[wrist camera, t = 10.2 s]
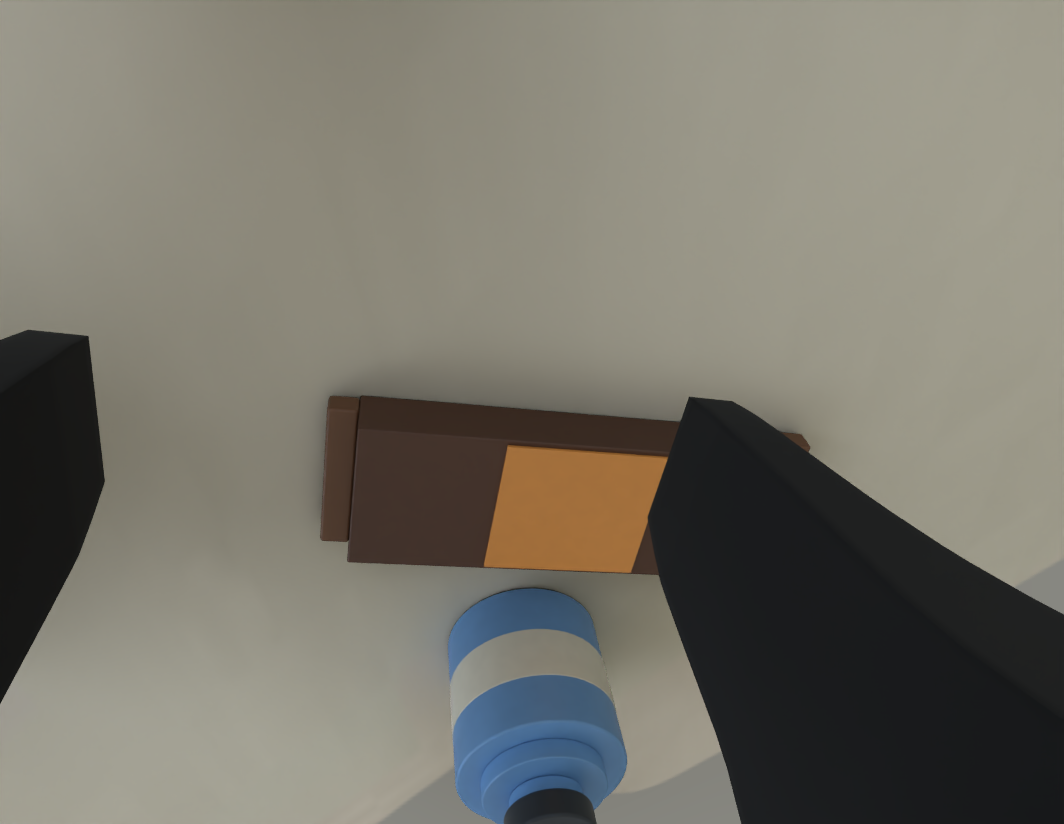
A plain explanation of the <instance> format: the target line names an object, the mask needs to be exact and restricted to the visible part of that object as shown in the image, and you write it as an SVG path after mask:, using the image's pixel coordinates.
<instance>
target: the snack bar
mask: <svg viewBox="0 0 1064 824" xmlns="http://www.w3.org/2000/svg"><path fill="white" fill-rule="evenodd" d="M679 425H680V422H671V421H659V420H647V419H635V418H624V417H612V416H600V415H588V414H576V413H564V412H552V411H540V410H528V409H516V408H504V407H492V406H480V405H468V404H456V403H444V402H432V401H420V400H408V399H396V398H384V397H372V396H361V398H360V399H359V398H354V397H342V396H330V398H329V401H328V407H327V422H326V440H325V459H324V477H323V496H322V514H321V533H320V538H321V540H323V541H340V542H347V541H348V540H349V544H348V557H347V561H348V562H357V563H381V564H406V565H430V566H455V567H480V568H504V569H529V570H553V571H578V572H602V573H627V574H651V575H659V572H658V568H657V563H656V559H655V555H654V550H653V544H652V539H651V534H650V529H649V523H648V518H647V517H648V514H649V511H650V508H651V505H652V502H653V499H654V497H655V494H656V491H657V488H658V485H659V482H660V479H661V476H662V474H663V471H664V468H665V465H666V462H667V459H668V456H669V453H670V451H671V448H672V445H673V442H674V439H675V436H676V433H677V430H678V428H679ZM781 433H782V432H781ZM782 434H784V435H785V436H786V437H788V438H789V439H790V440H792V441H793V442H795V443H796V444H797V445H799V446H800V447H801V448H803V449H804V450H805V451H807V452H809V450H810V446H809V444H808V443H807V441H806V440H805V439H804V437H803V436H802V435H801V434H794V433H782Z"/></svg>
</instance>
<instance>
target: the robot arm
mask: <svg viewBox="0 0 1064 824" xmlns="http://www.w3.org/2000/svg"><path fill="white" fill-rule="evenodd" d="M104 482H105V478H104V470H103V461H102V452H101V443H100V434H99V426H98V417H97V408H96V399H95V390H94V381H93V373H92V364H91V355H90V346H89V337H88V336H83V335H73V334H64V333H54V332H44V331H34V330H27V331H24V332H21V333H18V334H15V335H12V336H10V337H7V338H5V339H2V340H0V703H1V701H2V699H3V698H4V696H5V694H6V692H7V690H8V688H9V686H10V684H11V683H12V681H13V679H14V677H15V675H16V673H17V671H18V670H19V668H20V666H21V664H22V662H23V660H24V658H25V656H26V655H27V653H28V651H29V649H30V647H31V645H32V643H33V642H34V640H35V638H36V636H37V634H38V632H39V630H40V628H41V627H42V625H43V623H44V621H45V619H46V617H47V615H48V613H49V612H50V610H51V608H52V606H53V604H54V602H55V600H56V598H57V596H58V594H59V593H60V591H61V589H62V587H63V585H64V583H65V581H66V579H67V577H68V575H69V573H70V571H71V569H72V568H73V566H74V564H75V562H76V560H77V558H78V556H79V553H80V551H81V548H82V545H83V542H84V540H85V537H86V534H87V532H88V529H89V526H90V524H91V521H92V518H93V515H94V512H95V509H96V506H97V503H98V500H99V497H100V494H101V491H102V488H103V485H104ZM647 518H648V523H649V529H650V534H651V539H652V544H653V550H654V555H655V559H656V563H657V568H658V572H659V577H660V581H661V584H662V587H663V590H664V593H665V596H666V599H667V602H668V605H669V607H670V610H671V613H672V616H673V619H674V621H675V624H676V627H677V630H678V632H679V635H680V638H681V641H682V643H683V646H684V649H685V651H686V654H687V657H688V660H689V662H690V665H691V668H692V670H693V673H694V676H695V678H696V681H697V684H698V686H699V689H700V692H701V695H702V697H703V700H704V703H705V705H706V708H707V711H708V713H709V716H710V719H711V722H712V724H713V727H714V730H715V732H716V735H717V738H718V741H719V745H720V748H721V751H722V754H723V757H724V760H725V763H726V766H727V769H728V773H729V777H730V781H731V785H732V789H733V793H734V797H735V801H736V804H737V808H738V812H739V816H740V820H741V824H1064V615H1063V614H1062V613H1060V612H1058V611H1056V610H1054V609H1052V608H1050V607H1048V606H1046V605H1044V604H1043V603H1041V602H1039V601H1037V600H1035V599H1033V598H1031V597H1029V596H1028V595H1026V594H1024V593H1022V592H1021V591H1019V590H1017V589H1015V588H1014V587H1012V586H1010V585H1008V584H1007V583H1005V582H1003V581H1001V580H1000V579H998V578H996V577H994V576H993V575H991V574H989V573H987V572H986V571H984V570H982V569H980V568H979V567H977V566H975V565H973V564H972V563H970V562H968V561H967V560H965V559H963V558H962V557H960V556H958V555H957V554H955V553H954V552H952V551H950V550H949V549H947V548H945V547H944V546H942V545H941V544H939V543H938V542H936V541H935V540H933V539H932V538H930V537H928V536H927V535H925V534H924V533H922V532H921V531H919V530H918V529H916V528H915V527H913V526H912V525H910V524H909V523H907V522H906V521H904V520H903V519H901V518H900V517H898V516H897V515H895V514H894V513H892V512H891V511H889V510H888V509H886V508H885V507H883V506H882V505H881V504H879V503H878V502H876V501H875V500H873V499H872V498H870V497H869V496H868V495H866V494H865V493H863V492H862V491H861V490H859V489H858V488H856V487H855V486H854V485H852V484H851V483H849V482H848V481H847V480H845V479H844V478H842V477H841V476H840V475H838V474H837V473H836V472H834V471H833V470H831V469H830V468H829V467H827V466H826V465H825V464H823V463H822V462H821V461H819V460H818V459H816V458H815V457H814V456H812V455H811V454H810V453H808V452H807V451H805V450H804V449H803V448H801V447H800V446H799V445H797V444H796V443H795V442H793V441H792V440H790V439H789V438H788V437H786V436H785V435H784V434H782V433H781V432H779V431H778V430H777V429H775V428H774V427H772V426H771V425H769V424H768V423H766V422H765V421H764V420H762V419H761V418H759V417H758V416H756V415H755V414H753V413H752V412H750V411H748V410H747V409H745V408H743V407H742V406H740V405H738V404H736V403H734V402H733V401H724V400H715V399H705V398H695V397H689V399H688V402H687V404H686V407H685V410H684V413H683V416H682V419H681V422H680V425H679V428H678V430H677V433H676V436H675V439H674V442H673V445H672V448H671V451H670V453H669V456H668V459H667V462H666V465H665V468H664V471H663V474H662V476H661V479H660V482H659V485H658V488H657V491H656V494H655V497H654V499H653V502H652V505H651V508H650V511H649V514H648V517H647Z"/></svg>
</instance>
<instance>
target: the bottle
mask: <svg viewBox="0 0 1064 824" xmlns="http://www.w3.org/2000/svg"><path fill="white" fill-rule="evenodd" d="M448 655H449V673H450V704H451V722H452V740H453V747H454V765H455V783H456V789H457V793H458V795H459V797H460V798H461V800H462V801H463V803H464V804H465V805H466V806H467V807H468V808H469V809H471V810H472V811H473V812H475V813H477V814H478V815H481V816H483V817H485V818H488V819H491V820H492V821H494V822H495V823H497V824H597V823H596V819H595V813H594V810H595V809H596V808H597V807H598V806H599V805H600V803H601V802H602V801H603V799H604V798H606V797H607V796H608V795H609V794H610V793H611V792H612V791H613V790H614V789H615V788H616V787H617V786H618V784H619V783H620V781H621V780H622V778H623V776H624V773H625V771H626V765H627V754H626V750H625V746H624V742H623V738H622V734H621V730H620V726H619V723H618V719H617V715H616V708H615V704H614V700H613V696H612V692H611V689H610V685H609V681H608V677H607V673H606V669H605V665H604V662H603V659H602V656H601V652H600V648H599V644H598V640H597V636H596V632H595V628H594V625H593V621H592V619H591V617H590V615H589V613H588V612H587V611H586V609H585V608H584V607H583V606H582V605H581V604H580V603H579V602H577V601H576V600H574V599H573V598H571V597H569V596H567V595H565V594H562V593H559V592H556V591H552V590H547V589H538V588H526V589H516V590H510V591H506V592H502V593H499V594H496V595H493V596H490V597H488V598H486V599H484V600H482V601H480V602H479V603H477V604H475V605H474V606H472V607H471V608H470V609H469V610H467V611H466V612H465V613H464V614H463V615H462V616H461V617H460V618H459V620H458V621H457V622H456V624H455V626H454V627H453V629H452V631H451V634H450V637H449V642H448Z"/></svg>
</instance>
